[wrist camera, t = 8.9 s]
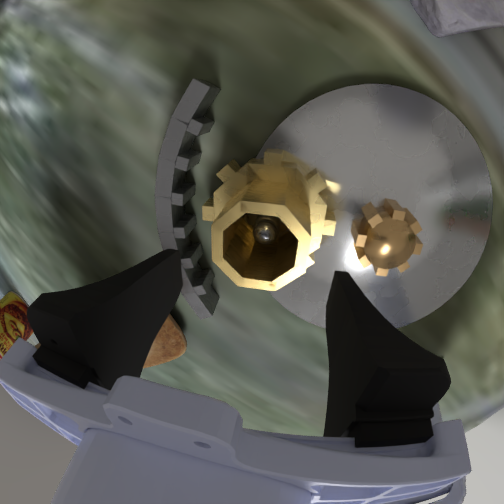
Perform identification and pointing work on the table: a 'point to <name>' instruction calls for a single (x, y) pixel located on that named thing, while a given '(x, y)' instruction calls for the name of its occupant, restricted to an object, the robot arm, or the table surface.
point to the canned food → (13, 321)
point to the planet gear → (273, 204)
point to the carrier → (352, 199)
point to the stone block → (459, 15)
